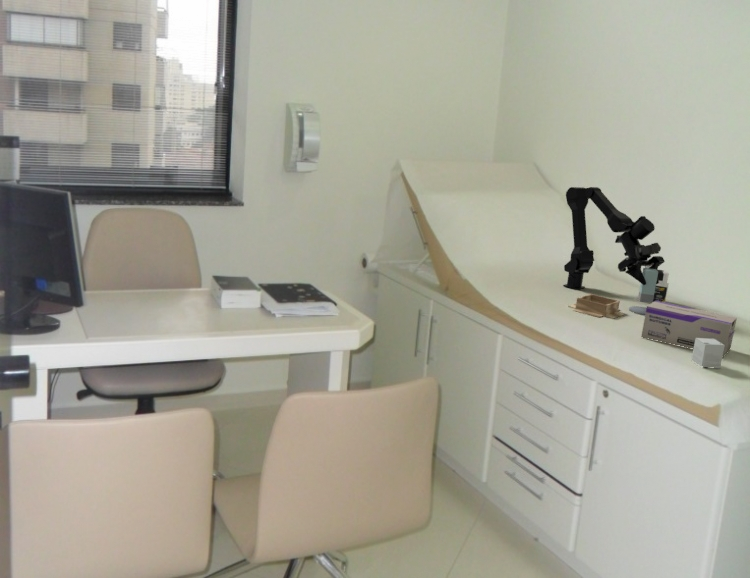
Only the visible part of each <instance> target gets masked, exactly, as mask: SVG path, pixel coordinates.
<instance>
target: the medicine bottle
mask: <svg viewBox="0 0 750 578" xmlns="http://www.w3.org/2000/svg"><path fill="white" fill-rule="evenodd" d="M669 275H670V274H669V272H668V271H665V270H662V269H658V280H659V283H658V284H656V287H655V293H654V298H653V302H654V301H660V302H665V303H666V298H667V295H668V288H669V284H670V283H668V280H669V279H668V278H669Z"/></svg>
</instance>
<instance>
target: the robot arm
mask: <svg viewBox="0 0 750 578" xmlns="http://www.w3.org/2000/svg"><path fill="white" fill-rule="evenodd" d="M565 199H566V202H567V203H566V204H567V206H568V207H569V209H570V211H571V218H572V232H573V235H572V236H573V249H572V251H571V254H570V260H569V261H568V262H567V263H565V264H564V266H563V269H564V272H567V273H568V274H567V275H568V276H567V282H566V283H565V284H563V285H562V287H565V288H570V289H573V290H577V291H578V290H583V289H585V288H586V286H584V285H583V281H584V274H588V273H589V272H590V270H591V268H593V266H594V261H595V258H594V250H590V248H589V247H588V238H587V225H586V221H587V220H586V208H587V206H588V203H589V200H591V201H592V202H593V204H594V205H595V206H596V207H597V208H598V210H600V212H601V213H602V214H603V215H604V217H605V219H606V222H607V225H608V227H609V229H610V230H611V231H612V232H613V233H622V234H621V235H616V239H615V241H614V243H617V244H621V245H622V247H623V249H624V251H625V252H624V253H623V254H624V256H625V258H624V259H622V260H621V261H620V262H619V263H618V265H617V269H618V271H619V272H622V273H623V272H624V273H625V274H628V275H629V276H631V277H633V278H634V279H635V280H637V281H638V282H639V283H640V284H641V283H642V284H643V285H646V281H645V278H644V276H643V270H642V267H644V268H650V269H656V270H657V271H658V270H659V269H658V268H659V267H660V266H661V265H663V264H664V263H665V259H664V256H661V255H655V254H660V252H661V249H662V247H661V245H660V244H659V242H654V243H651V244H647V245H644V244H641V242H640V241H643V240H644V239H645V238H646V237H648V236H649V235H651V233H653V232H654V231H655V229H656V228H655V227H656V226H655V224H654V222H652V221H651V220H650V219H648V218H647V217H646V216H645V215H641V216H639V218H637V220H635V221H633V219H632V218H631V217H629V216H628V215H627V214H626V213H624V212H622V211H620V210H619V209H617V207H615V205H614V204H613V203H612V202H611V200H610V199H608V197H607V196H606V195H605V194H604V193H603V192H602V189H601V188H600V187H597V186H590V187H585V186H583V187H579V186H578V187H577V186H576V187H575V186H574V187H573V186H571V187H568V189H567V190H566V191H565ZM652 255H653V256H652ZM658 283H659V280H658V276H657V282H656V284H658Z"/></svg>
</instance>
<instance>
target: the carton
mask: <svg viewBox="0 0 750 578" xmlns="http://www.w3.org/2000/svg"><path fill="white" fill-rule="evenodd" d="M568 307H569V308H571V309H572V311H573V312H576V311H577V313H581V314H585V315H587V314H588V315H587V316H591V317H596V318H598V319H599V318H603V317H604V318H605V317H606V318H610V319H612V320H613V319H616V318H618V317H622V316H624V314H625V315H626V313H625V312H622V311H621V309H620V308H619V307H620V300H616V299H613V298H610V297H609V298H608V297H605V296H600V295H596V294H593V293H590V294H586V295H582V296H580V297H577V298H576V303H573V304H570V305H568ZM619 310H620V311H619ZM602 316H603V317H602Z"/></svg>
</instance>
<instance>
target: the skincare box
mask: <svg viewBox="0 0 750 578" xmlns="http://www.w3.org/2000/svg"><path fill="white" fill-rule="evenodd" d="M724 347H725V345H724V344H722V343H720V342H719V341H717V340H715V339H707V338H696V339H695V344H694V349H693V350H692V355H691V358H690V359H691V360H693V361H694V362H696V363H697V364H699V365H700V366H703V367H714V368H713V369H721V366H722V361H723V357H722V356H723V351H724ZM691 360H690V361H691Z"/></svg>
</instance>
